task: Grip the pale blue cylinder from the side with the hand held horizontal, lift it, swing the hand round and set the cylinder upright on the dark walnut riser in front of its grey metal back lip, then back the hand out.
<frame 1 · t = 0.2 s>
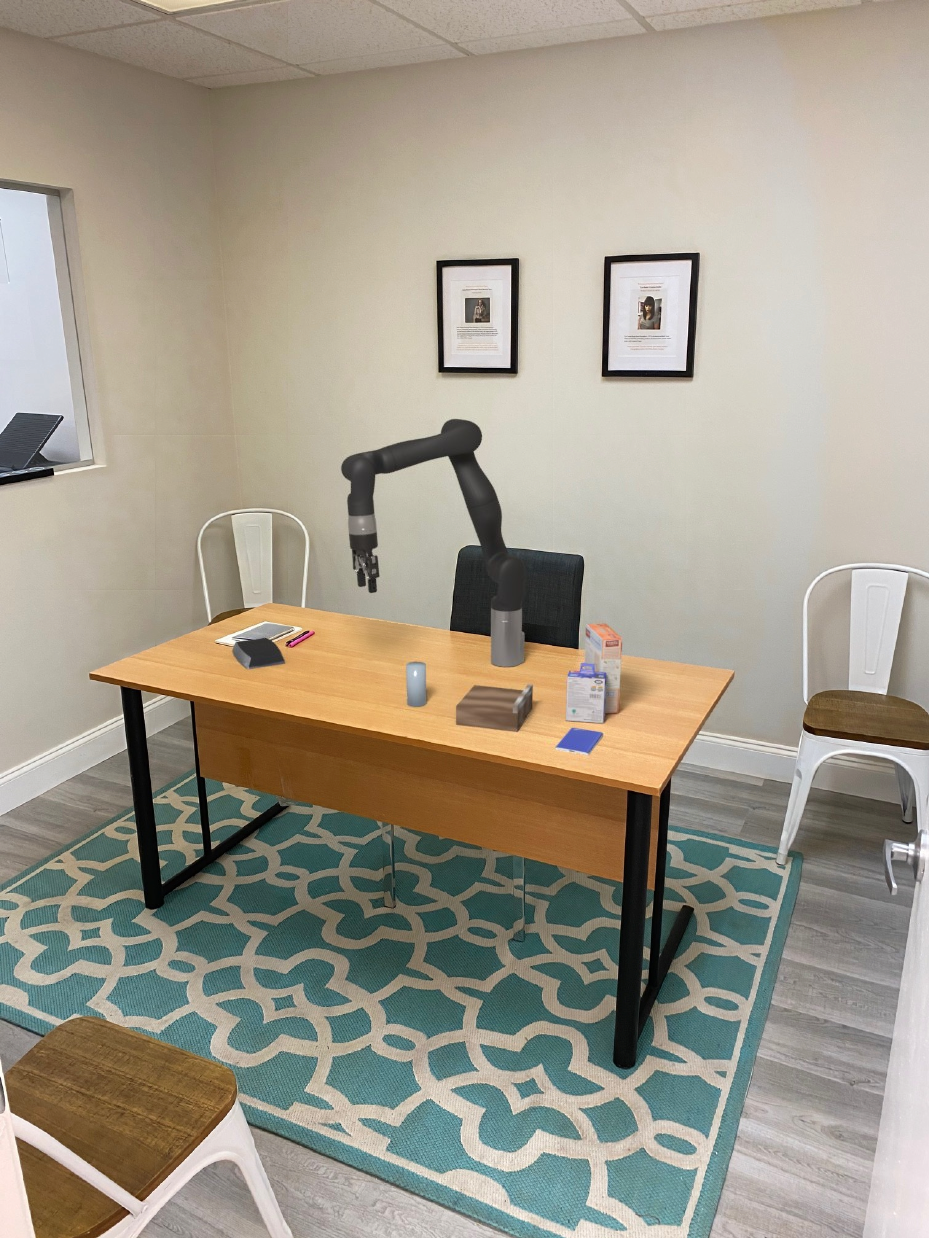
hand: (367, 589, 256), 28 cm above the table, tool pointing down, fingers open, 8 cm apart
walnut riser: (494, 716, 243), on the table
ink cartridge box: (585, 719, 241), on the table
cracker box: (600, 705, 250), on the table
pale blue cylinder: (416, 703, 252), on the table
external hard drive: (258, 659, 289), on the table
hard drive: (579, 745, 227), on the table
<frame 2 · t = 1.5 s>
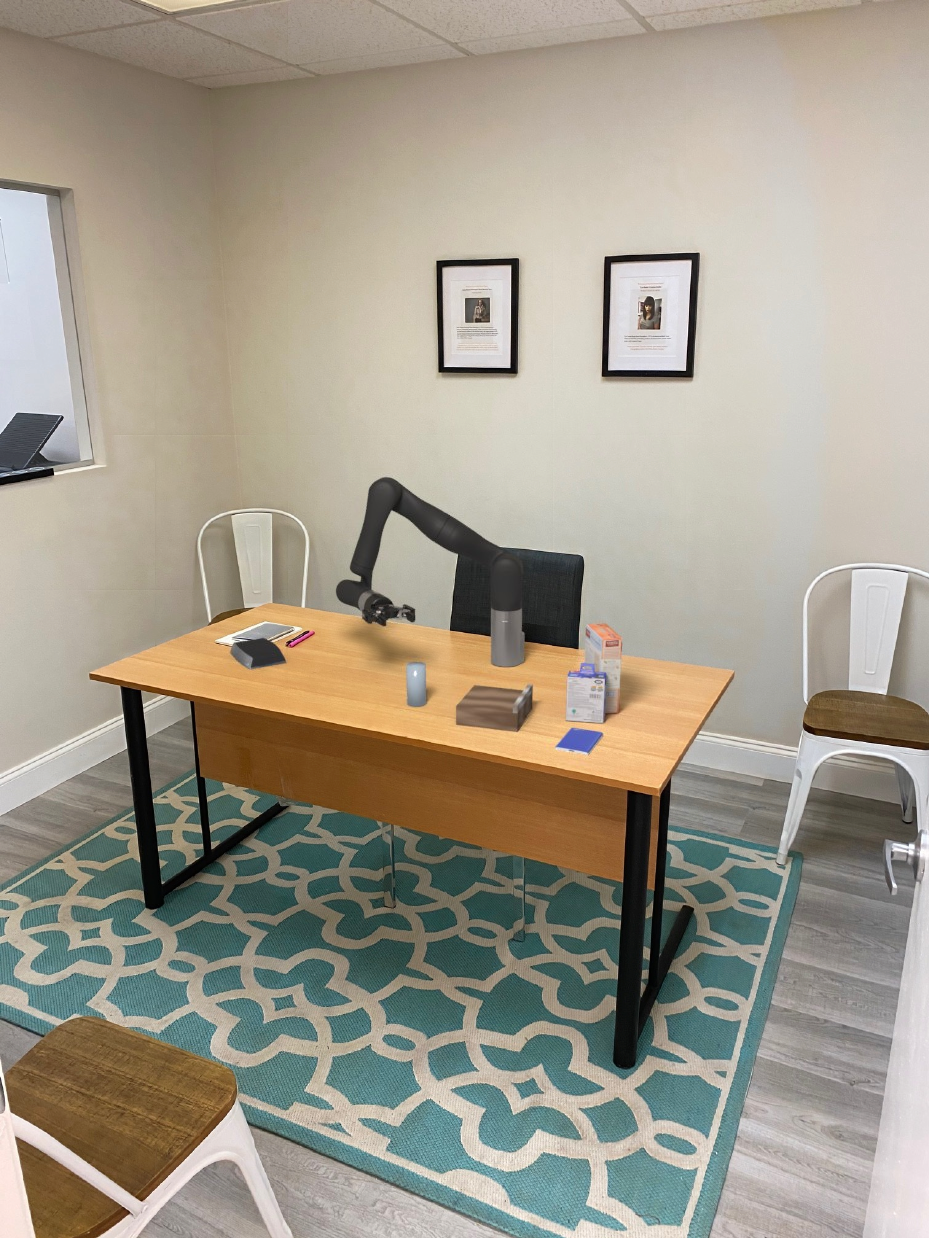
hand: (399, 620, 255), 20 cm above the table, tool horizontal, fingers open, 8 cm apart
nothing on the table moved.
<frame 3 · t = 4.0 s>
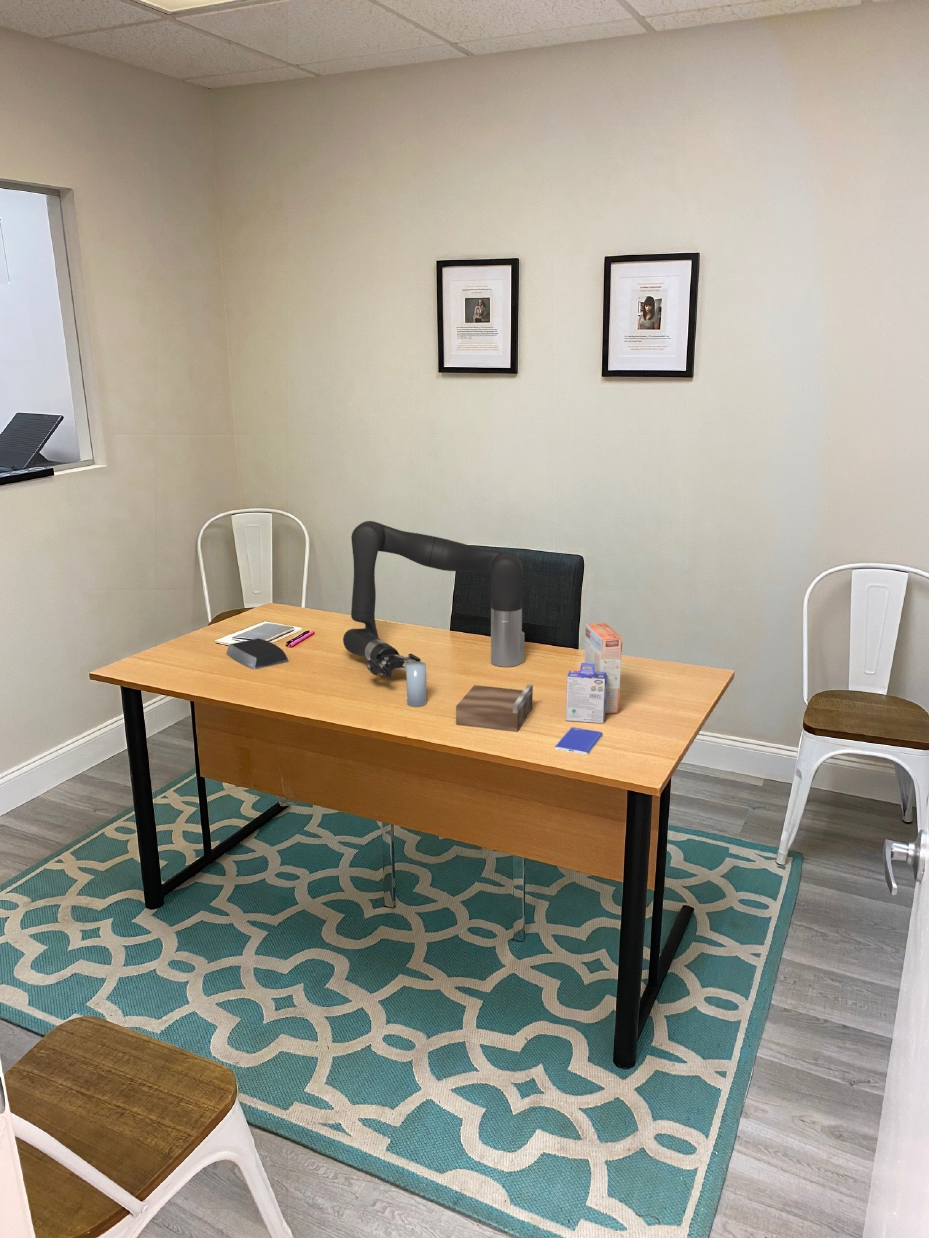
hand: (404, 671, 257), 7 cm above the table, tool horizontal, fingers open, 8 cm apart
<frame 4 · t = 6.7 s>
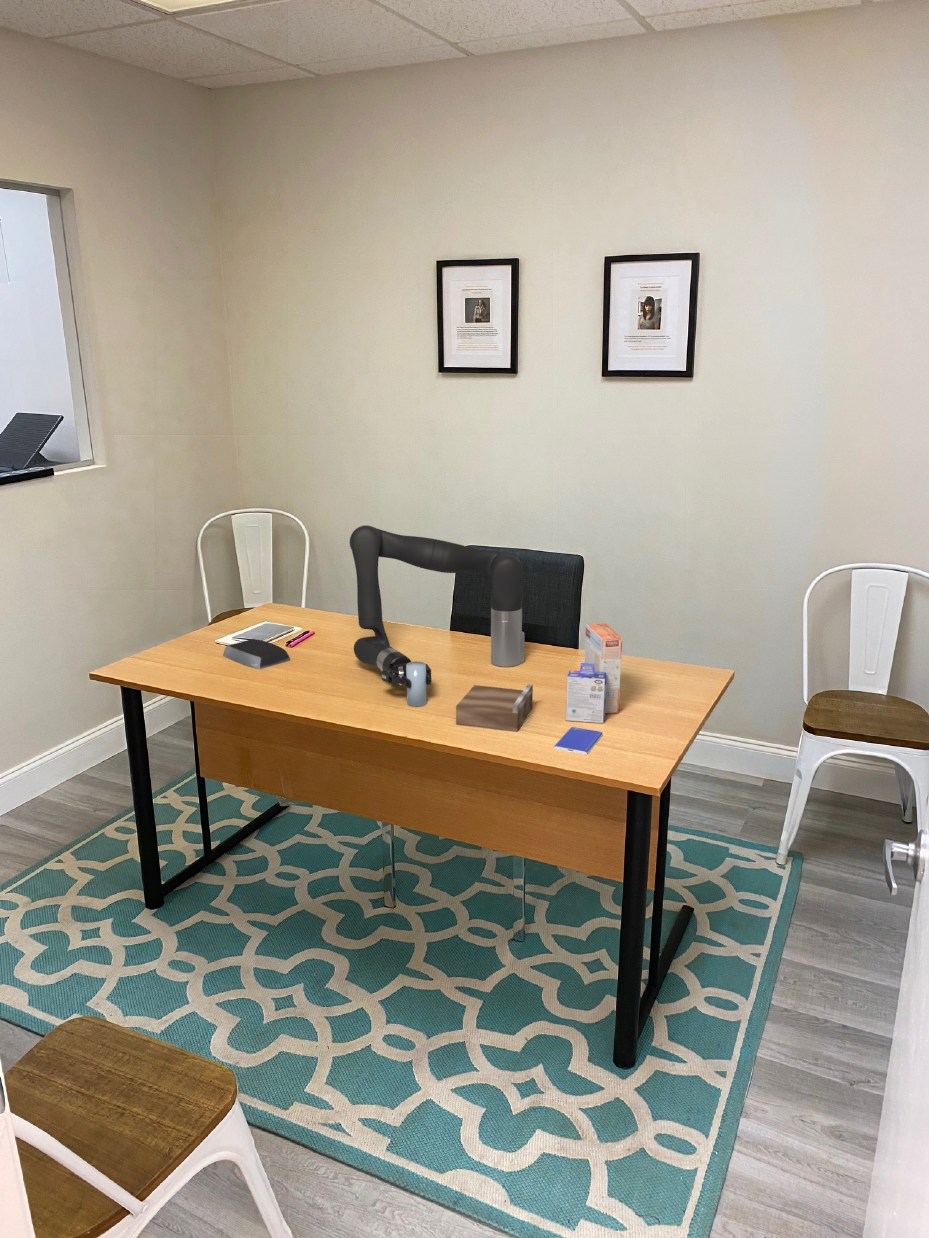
hand: (419, 682, 248), 7 cm above the table, tool horizontal, fingers closed on pale blue cylinder, 5 cm apart
pale blue cylinder: (416, 703, 252), on the table, touching gripper
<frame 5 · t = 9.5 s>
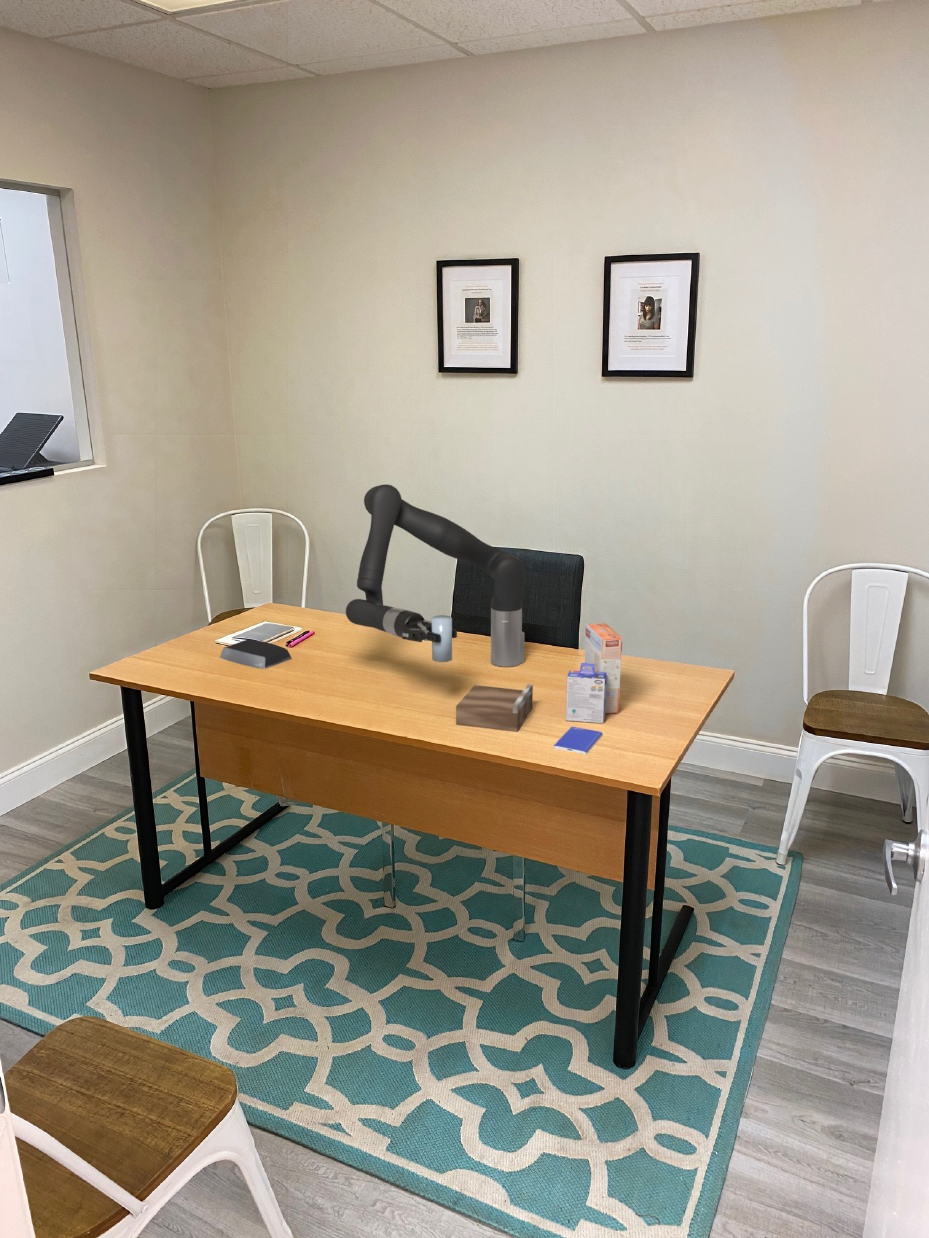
hand: (447, 636, 240), 21 cm above the table, tool horizontal, fingers closed on pale blue cylinder, 5 cm apart
pale blue cylinder: (442, 658, 243), point 14 cm above the table, touching gripper
when the fingers open (13 cm above the table, at t = 12.5 s): pale blue cylinder drops 1 cm, resting on walnut riser.
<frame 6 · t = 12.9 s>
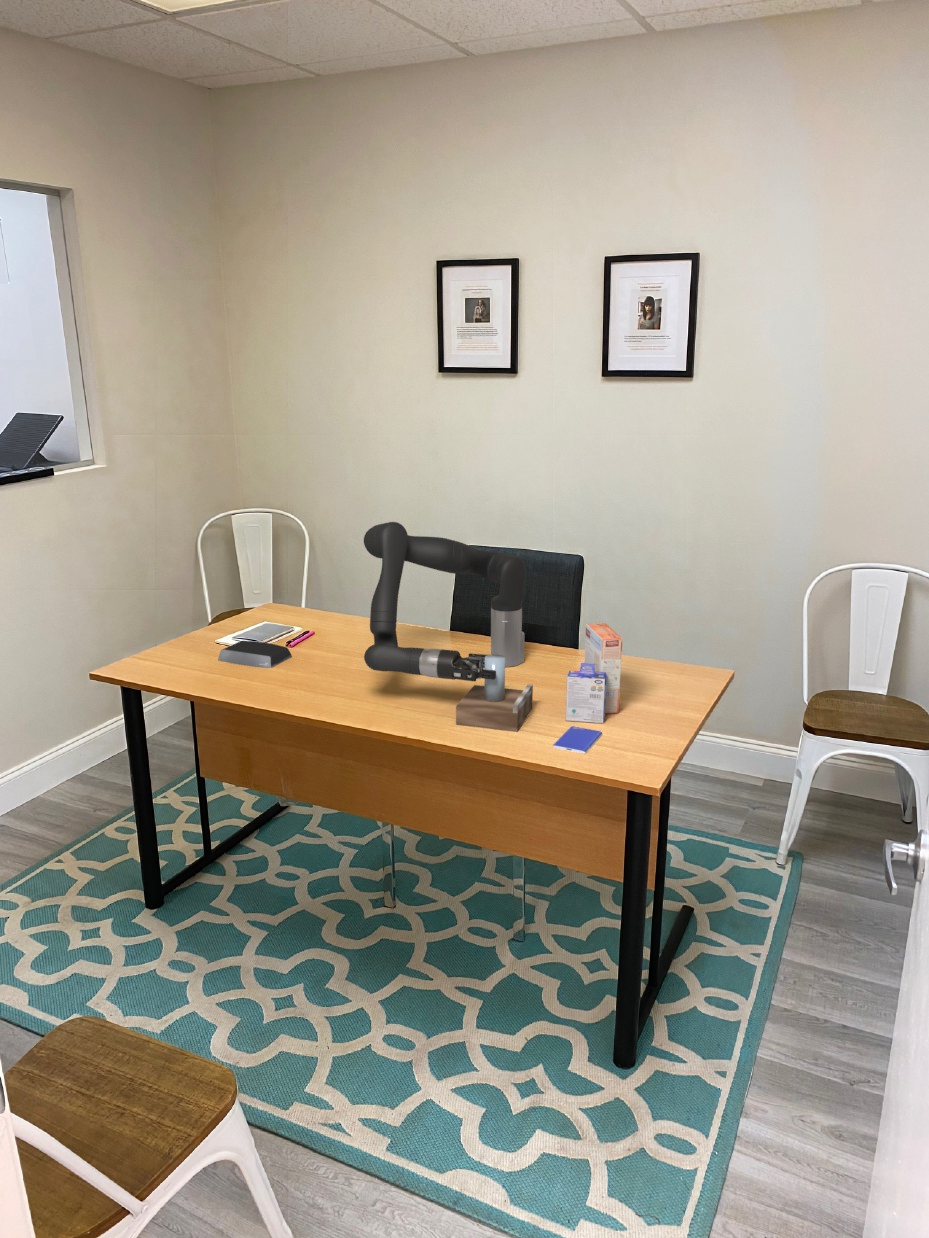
hand: (500, 669, 239), 13 cm above the table, tool horizontal, fingers open, 8 cm apart
pale blue cylinder: (494, 698, 241), point 5 cm above the table, touching walnut riser
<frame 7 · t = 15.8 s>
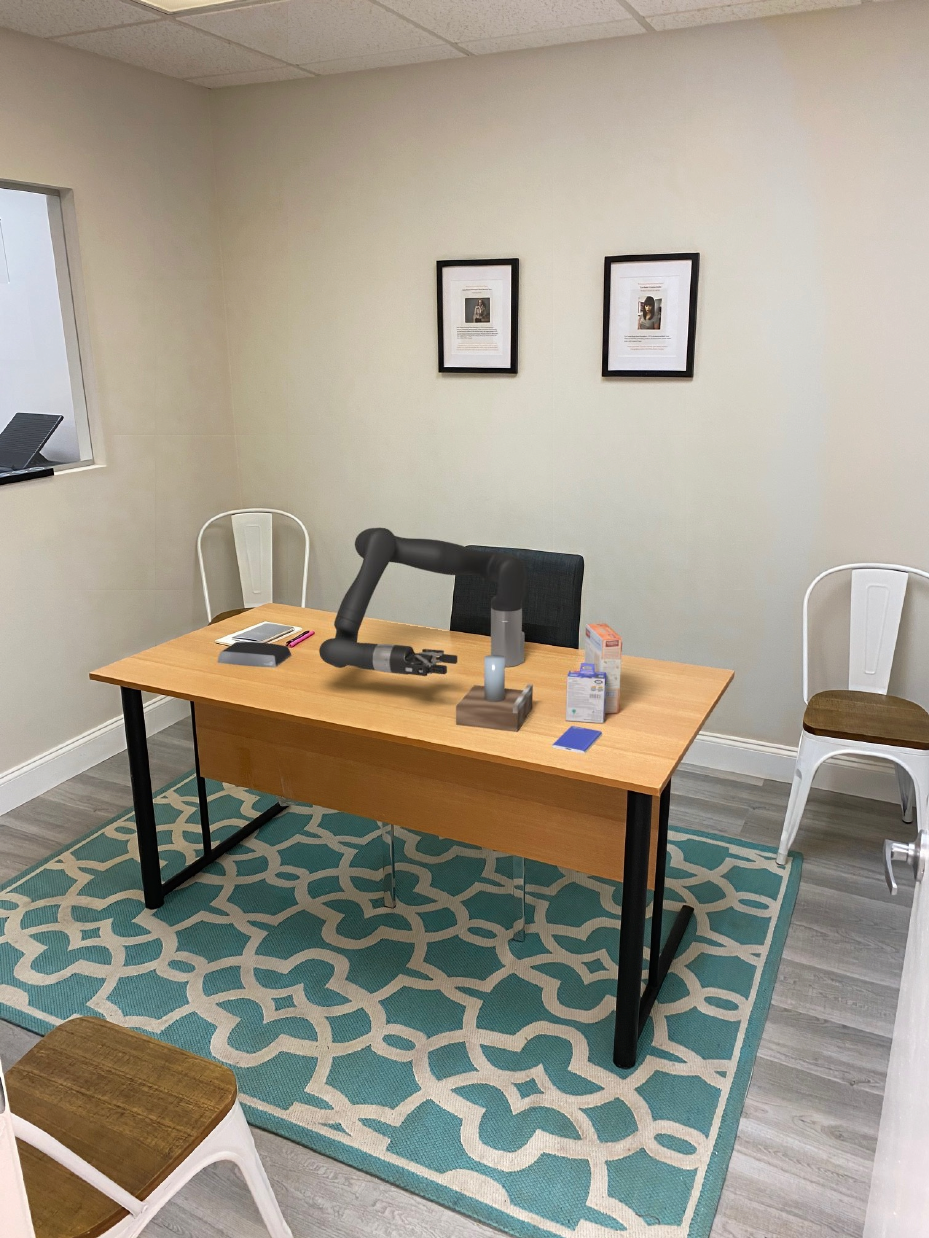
hand: (451, 664, 242), 13 cm above the table, tool horizontal, fingers open, 8 cm apart
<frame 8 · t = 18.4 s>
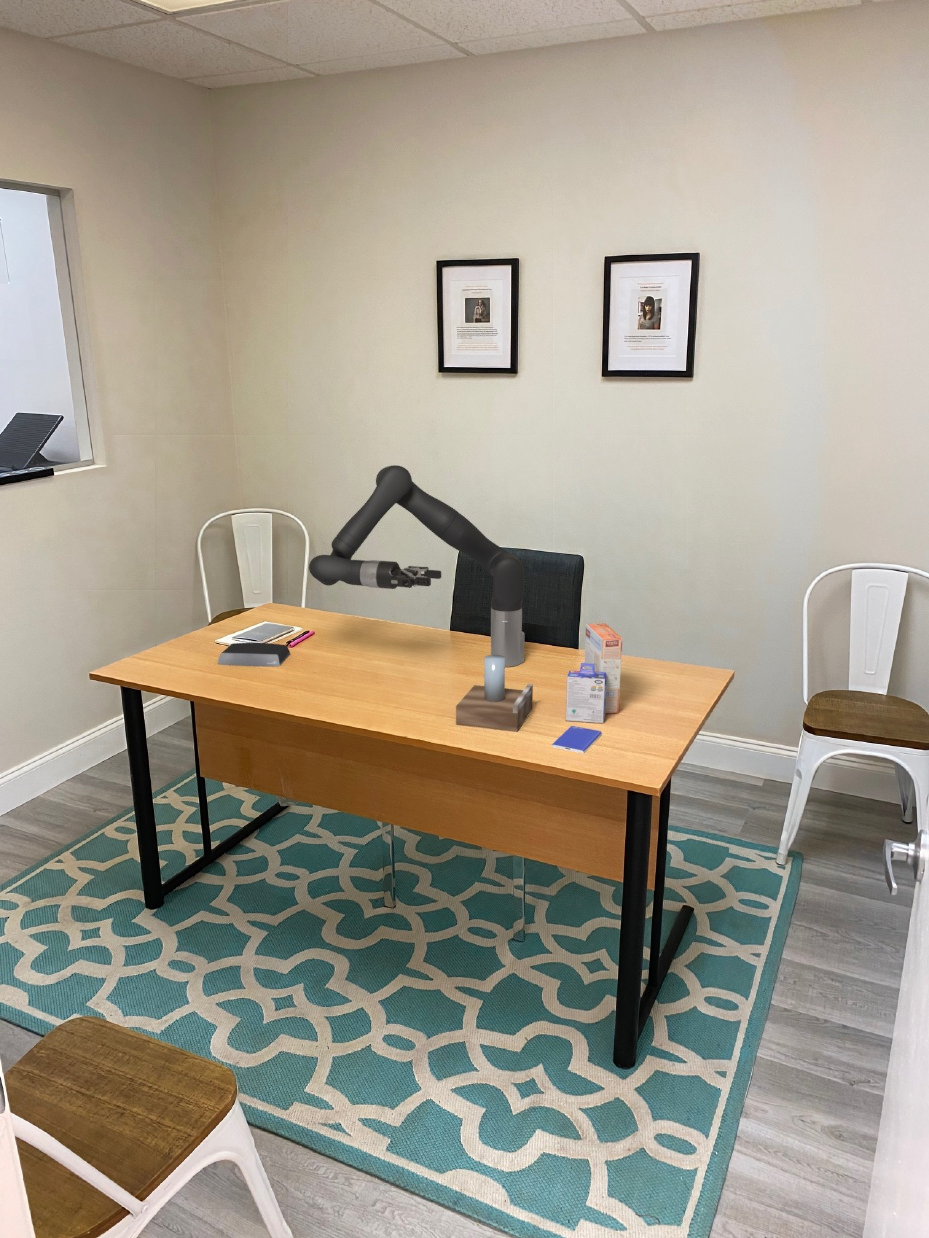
hand: (435, 578, 253), 32 cm above the table, tool horizontal, fingers open, 8 cm apart
at the end: pale blue cylinder inside the target area on the walnut riser (0.2 cm from its centre), point 5.0 cm above the walnut riser's base; pale blue cylinder tilted 0°; the gripper is holding nothing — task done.
